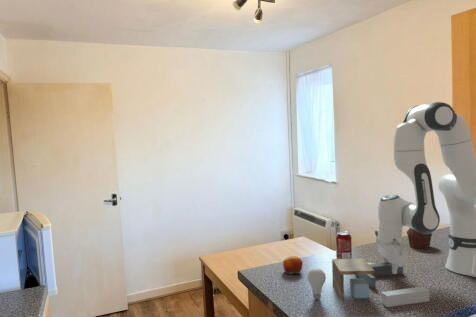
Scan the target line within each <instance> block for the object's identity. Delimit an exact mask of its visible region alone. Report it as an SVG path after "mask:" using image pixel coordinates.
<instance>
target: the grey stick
mask: <svg viewBox="0 0 476 317" xmlns="http://www.w3.org/2000/svg"><path fill="white" fill-rule="evenodd" d="M430 292H431V290H430V289H428V288H426V287H425V286H417V287H410V288H402V289H395V290H388V291H381V302H380V303H381V304H382V305H383V306H385V307H387V308H391V307H397V306H404V305H411V304H418V303H426V302H430Z"/></svg>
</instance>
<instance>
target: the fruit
mask: <svg viewBox="0 0 476 317" xmlns="http://www.w3.org/2000/svg"><path fill="white" fill-rule="evenodd" d="M282 265H283V269H284V271H285V273H286V274H289V275H290V276H292V275H293V274H297V275H298V274H299V275H301V271H302V268H303V259H302V258H301V257H298V256H295V255H294V256H293V255H291V256H288V257H286V258H285V259H283V262H282Z"/></svg>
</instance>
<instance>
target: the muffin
mask: <svg viewBox="0 0 476 317" xmlns="http://www.w3.org/2000/svg"><path fill="white" fill-rule="evenodd" d="M408 228H409V229H408V230H407V231H406V235H407V237H408V238H407V239H408V244H409V247H410V248H413V249H418V250H428V249H430V245H431V240H432V236H433V232H432V233H430V234H421V233H420V232H418V231H416V230H414V229H412V228H410V227H408Z"/></svg>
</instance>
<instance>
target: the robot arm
mask: <svg viewBox="0 0 476 317" xmlns="http://www.w3.org/2000/svg"><path fill="white" fill-rule="evenodd" d="M428 132H434V133H435V134H436V135H437V140H438V144H439V149H440V153H441V156H442V160H443V163H444V165H445V166H446V167H447V168H448V169H449V170H450V171H451V173H446V174H444V175H442V176H441V177H440V178H439V181H438V189H439V191H440V192H441V194H442V195H443V198H444V199H445V202H446V206H447V210H448V214H449V233H448V247H449V248H448V254H447V258H446V263H445V266H444V267H445V268H446V269H447V270H449V271H451V272H453V273H456V274H459V275H465V276H469V277H473V278H476V152H475V149H474V148H475V147H474V144H473V141H472V136H471V132H470V130H469V127H468V124H467V122H466V120H465V118H464V117H463V116H462V115H460V114H457V113H456V112H455V110H454V108H453V107H452V106H451V105H450V104H448V103H446V102H443V101H441V102H440V101H435V102H427V103H423V104H419V105H415V106H413V107H411V108H409V110H407V112H406V113H405V116H404V120H403V122H402V123H400V124H399V125H397V126H396V128H395V131H394V138H393V160H394V164H395V167H396V168H397V169H398V170H399V171H400V172H401V173H403V174H404V175H406V176H407V177H408V178H409V179H410V181H411V182H412V185H413V187H414V189H413V190H414V195H415V196H414V197H415V202H416V203H415V202H412V201H408V200H406V199H403V198H401V196H399V195H398V194H387V195H385V196H382V197H381V198H380V199H379V202H378V207H377V208H378V211H377V213H378V214H377V218H378V227H377V228H378V229H375V230H374V235H375V244H376V250H377V252H378V253H380V255H382V256H381V257H382V261H383V263H389V262H391V263H392V268H391V272H392V273H393V274H394V275H398V274H397V269H398V267H403V268H404V267H405V265H406V253H405V248H404V246H402V245H401V243H402V242H403V228H404V227H407V228H412V229H414V230H416V231H418V232H420V233H421V234H430V233H432V234H433V233H434V232H435V231H436V230H437V229H438V228H439V226H440V224H441V223H440V221H441V218H440V214H439V211H438V209H437V207H436V202H435V194H434V186H433V180H432V176H431V175H432V174H431V171H430V168H429V166H428V165H427V161H426V154H425V152H426V151H425V142H424V141H425V137H426V135H427V133H428Z"/></svg>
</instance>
